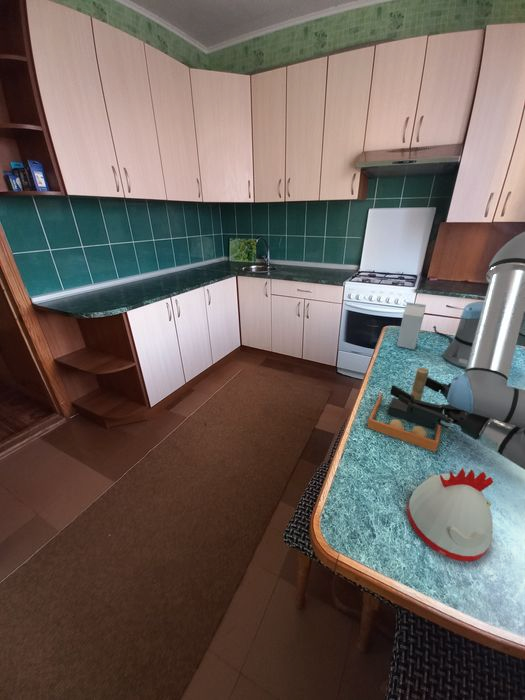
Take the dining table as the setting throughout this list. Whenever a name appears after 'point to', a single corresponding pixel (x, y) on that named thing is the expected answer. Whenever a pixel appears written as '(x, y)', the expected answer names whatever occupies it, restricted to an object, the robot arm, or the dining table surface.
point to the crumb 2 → (419, 431)
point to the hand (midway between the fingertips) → (405, 383)
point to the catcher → (403, 431)
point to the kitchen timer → (453, 514)
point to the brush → (400, 408)
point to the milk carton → (411, 325)
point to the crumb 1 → (397, 424)
